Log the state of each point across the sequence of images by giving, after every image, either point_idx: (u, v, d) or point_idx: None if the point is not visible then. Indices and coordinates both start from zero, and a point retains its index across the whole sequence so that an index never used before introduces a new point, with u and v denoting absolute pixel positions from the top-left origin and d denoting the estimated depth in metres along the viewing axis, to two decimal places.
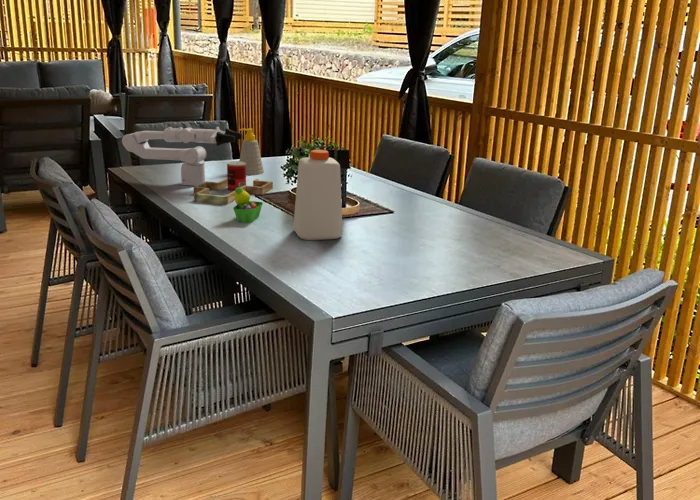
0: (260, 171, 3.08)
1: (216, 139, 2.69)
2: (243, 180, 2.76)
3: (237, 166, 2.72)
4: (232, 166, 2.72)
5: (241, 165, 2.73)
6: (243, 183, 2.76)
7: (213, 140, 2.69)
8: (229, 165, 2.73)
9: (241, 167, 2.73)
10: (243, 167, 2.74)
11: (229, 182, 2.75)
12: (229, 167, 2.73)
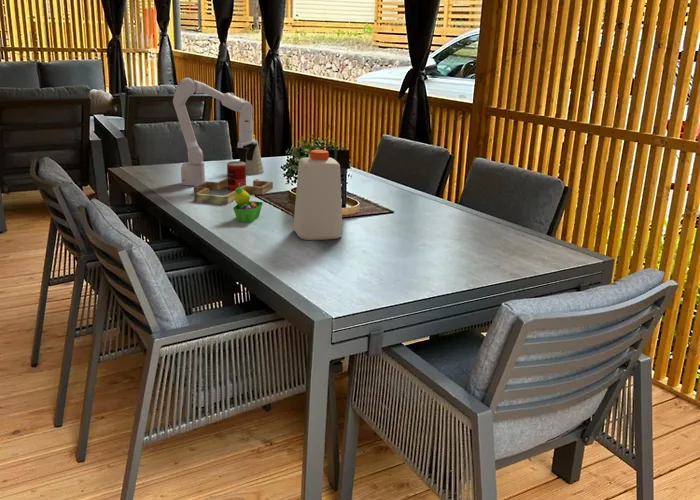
0: (260, 171, 3.08)
1: (240, 148, 2.79)
2: (243, 180, 2.76)
3: (237, 166, 2.72)
4: (232, 166, 2.72)
5: (241, 165, 2.73)
6: (243, 183, 2.76)
7: (239, 146, 2.77)
8: (229, 165, 2.73)
9: (241, 167, 2.73)
10: (243, 167, 2.74)
11: (229, 182, 2.75)
12: (229, 167, 2.73)
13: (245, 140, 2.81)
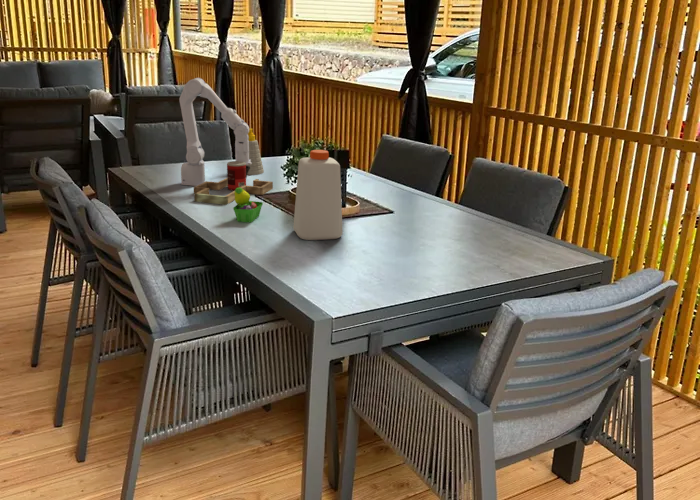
0: (260, 171, 3.08)
1: None
2: (243, 180, 2.76)
3: (237, 166, 2.72)
4: (232, 166, 2.72)
5: (241, 165, 2.73)
6: (243, 183, 2.76)
7: None
8: (229, 165, 2.73)
9: (241, 167, 2.73)
10: (243, 167, 2.74)
11: (229, 182, 2.75)
12: (229, 167, 2.73)
13: None
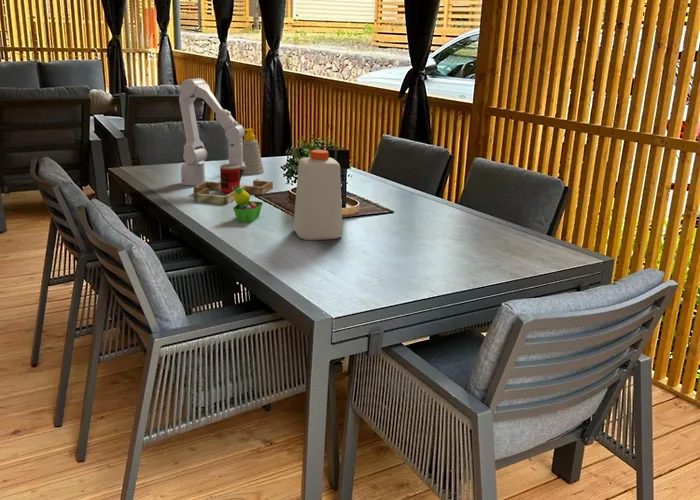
0: (260, 171, 3.08)
1: None
2: (237, 183, 2.69)
3: (230, 169, 2.66)
4: (225, 169, 2.66)
5: (234, 168, 2.67)
6: (237, 186, 2.70)
7: None
8: (222, 168, 2.66)
9: (234, 170, 2.67)
10: (236, 170, 2.68)
11: (222, 185, 2.69)
12: (222, 170, 2.67)
13: None
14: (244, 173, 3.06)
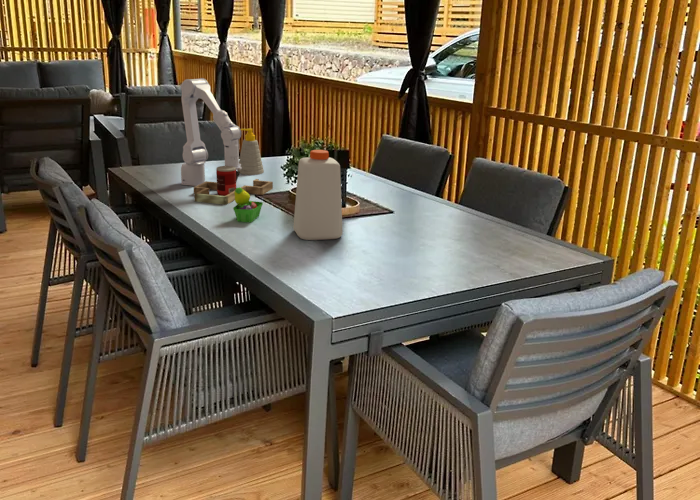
0: (260, 171, 3.08)
1: None
2: (233, 185, 2.66)
3: (227, 171, 2.62)
4: (222, 171, 2.62)
5: (231, 170, 2.63)
6: (233, 189, 2.66)
7: None
8: (218, 170, 2.63)
9: (231, 172, 2.63)
10: (233, 172, 2.64)
11: (219, 188, 2.65)
12: (218, 172, 2.63)
13: None
14: (244, 173, 3.06)
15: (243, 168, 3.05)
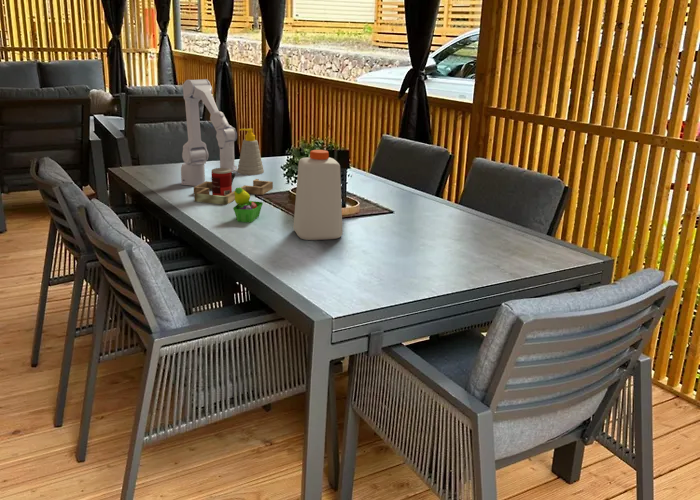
0: (260, 171, 3.08)
1: None
2: (229, 188, 2.62)
3: (222, 173, 2.58)
4: (217, 173, 2.58)
5: (226, 172, 2.59)
6: (229, 191, 2.62)
7: None
8: (214, 172, 2.58)
9: (226, 174, 2.59)
10: (228, 174, 2.60)
11: (214, 190, 2.61)
12: (214, 174, 2.58)
13: None
14: (244, 173, 3.06)
15: (243, 168, 3.05)
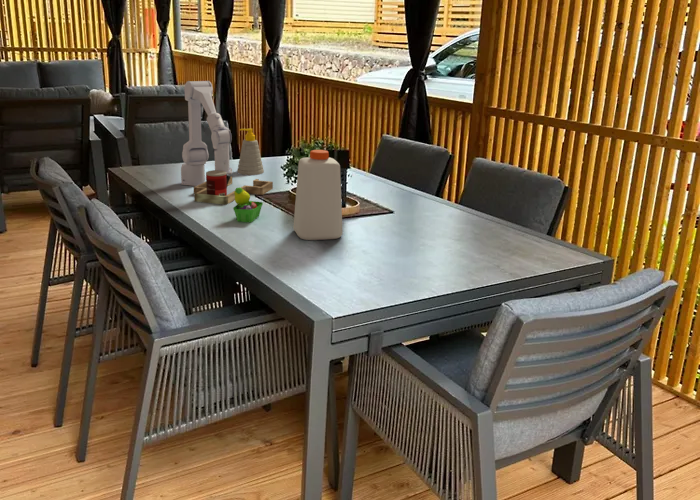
0: (260, 171, 3.08)
1: None
2: (224, 191, 2.57)
3: (217, 176, 2.53)
4: (211, 176, 2.53)
5: (221, 175, 2.54)
6: (224, 194, 2.57)
7: None
8: (208, 175, 2.54)
9: (221, 177, 2.54)
10: (223, 177, 2.55)
11: (208, 193, 2.56)
12: (208, 177, 2.54)
13: None
14: (244, 173, 3.06)
15: (243, 168, 3.05)
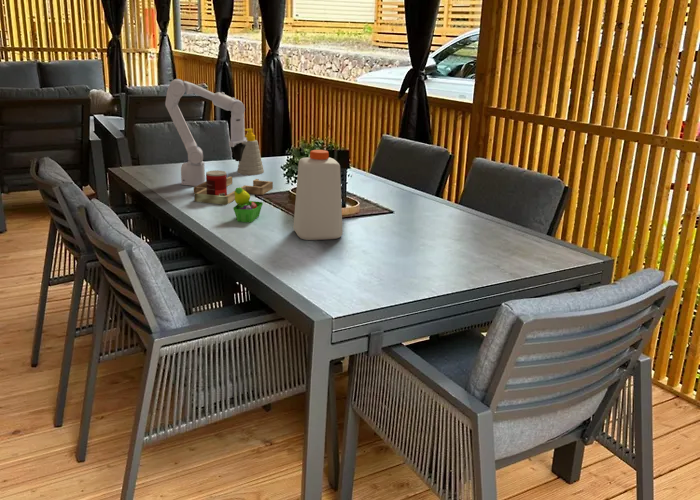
0: (260, 171, 3.08)
1: (235, 145, 2.80)
2: (224, 191, 2.57)
3: (217, 176, 2.54)
4: (212, 176, 2.53)
5: (221, 175, 2.54)
6: (224, 194, 2.58)
7: (230, 145, 2.76)
8: (208, 175, 2.54)
9: (221, 177, 2.55)
10: (223, 177, 2.55)
11: (208, 193, 2.56)
12: (208, 177, 2.54)
13: (237, 139, 2.79)
14: (244, 173, 3.06)
15: (243, 168, 3.05)
